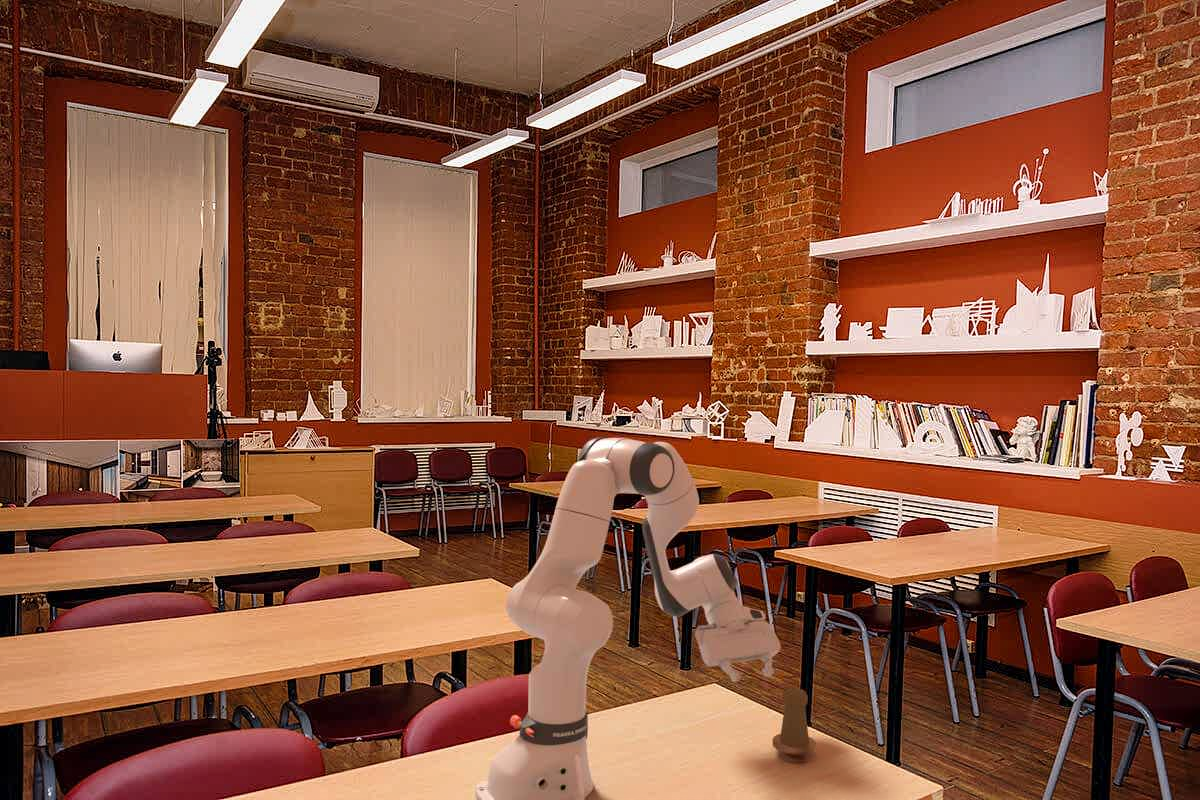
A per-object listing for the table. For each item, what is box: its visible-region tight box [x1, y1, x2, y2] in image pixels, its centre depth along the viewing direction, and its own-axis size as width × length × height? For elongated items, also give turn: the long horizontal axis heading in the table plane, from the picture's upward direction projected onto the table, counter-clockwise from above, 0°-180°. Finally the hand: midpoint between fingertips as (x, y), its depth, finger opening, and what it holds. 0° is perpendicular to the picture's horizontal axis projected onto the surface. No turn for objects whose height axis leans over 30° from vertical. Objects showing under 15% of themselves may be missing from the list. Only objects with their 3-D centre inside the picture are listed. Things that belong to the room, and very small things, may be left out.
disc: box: [772, 733, 817, 764], centre depth 181 cm, size 9×9×3 cm
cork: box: [780, 687, 810, 748], centre depth 181 cm, size 6×6×11 cm
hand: (753, 677), depth 192 cm, fingers open, 8 cm apart
